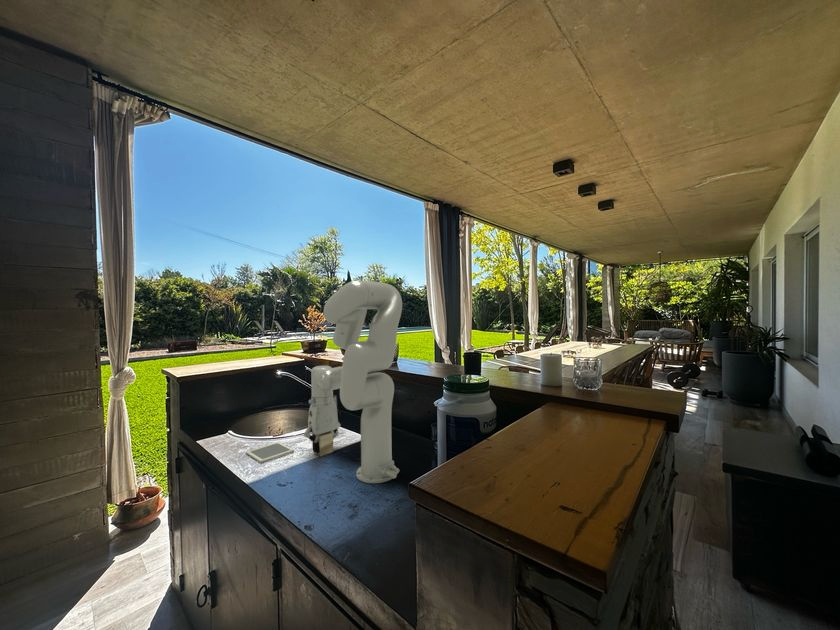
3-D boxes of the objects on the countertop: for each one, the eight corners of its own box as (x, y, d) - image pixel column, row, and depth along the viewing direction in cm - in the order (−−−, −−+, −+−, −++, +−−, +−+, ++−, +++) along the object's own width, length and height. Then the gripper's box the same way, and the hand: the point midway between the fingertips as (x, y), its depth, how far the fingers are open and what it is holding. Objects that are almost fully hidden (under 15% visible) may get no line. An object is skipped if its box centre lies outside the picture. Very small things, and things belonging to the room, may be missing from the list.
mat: (294, 452, 125) (294, 449, 125) (261, 463, 116) (260, 460, 116) (278, 444, 133) (278, 441, 133) (246, 454, 123) (246, 451, 123)
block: (333, 451, 125) (332, 432, 125) (321, 456, 121) (320, 436, 121) (325, 448, 128) (324, 429, 128) (313, 452, 124) (313, 433, 124)
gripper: (306, 407, 116) (307, 460, 116) (347, 397, 128) (348, 445, 129) (295, 403, 121) (296, 454, 121) (336, 394, 133) (336, 440, 134)
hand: (323, 449), depth 125 cm, fingers closed on block, 5 cm apart
